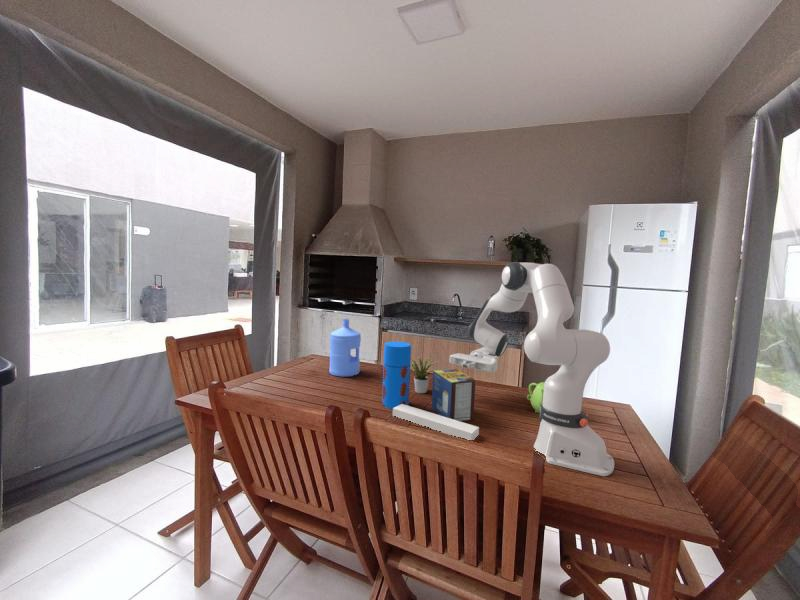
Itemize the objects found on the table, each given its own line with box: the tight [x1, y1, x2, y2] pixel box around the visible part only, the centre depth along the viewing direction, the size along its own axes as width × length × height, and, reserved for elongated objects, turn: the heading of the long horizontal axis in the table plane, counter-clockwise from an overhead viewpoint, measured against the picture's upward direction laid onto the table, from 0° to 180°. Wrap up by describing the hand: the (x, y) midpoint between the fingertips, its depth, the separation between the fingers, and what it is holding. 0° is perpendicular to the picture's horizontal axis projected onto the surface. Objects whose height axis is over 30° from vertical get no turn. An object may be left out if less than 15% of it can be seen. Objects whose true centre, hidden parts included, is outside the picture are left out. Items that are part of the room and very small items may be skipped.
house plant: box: [410, 356, 438, 394], centre depth 166 cm, size 14×14×16 cm
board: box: [392, 404, 480, 441], centre depth 131 cm, size 32×6×3 cm, turn 55°
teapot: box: [526, 381, 545, 414], centre depth 147 cm, size 16×14×13 cm
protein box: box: [431, 368, 476, 422], centre depth 141 cm, size 10×15×16 cm
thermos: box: [382, 341, 412, 410], centre depth 148 cm, size 11×11×25 cm
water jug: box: [329, 318, 362, 378], centre depth 189 cm, size 16×16×28 cm
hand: (465, 366), depth 149 cm, fingers closed
